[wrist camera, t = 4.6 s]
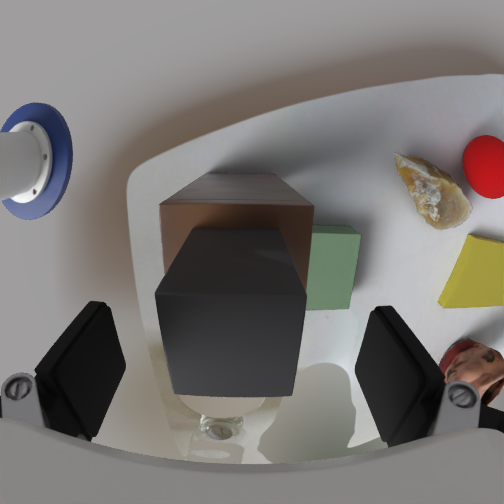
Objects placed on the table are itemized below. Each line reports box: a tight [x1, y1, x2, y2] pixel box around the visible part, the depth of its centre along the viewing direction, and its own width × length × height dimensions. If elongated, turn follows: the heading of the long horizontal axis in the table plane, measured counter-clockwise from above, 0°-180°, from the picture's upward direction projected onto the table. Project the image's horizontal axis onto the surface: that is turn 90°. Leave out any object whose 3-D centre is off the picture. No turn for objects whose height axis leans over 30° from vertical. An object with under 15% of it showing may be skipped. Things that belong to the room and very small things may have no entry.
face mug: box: [439, 339, 504, 406], centre depth 38 cm, size 20×12×14 cm, turn 93°
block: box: [155, 228, 307, 397], centre depth 12 cm, size 4×4×7 cm
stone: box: [395, 153, 472, 230], centre depth 30 cm, size 7×6×15 cm
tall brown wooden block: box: [159, 173, 314, 291], centre depth 24 cm, size 8×7×19 cm
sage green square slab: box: [306, 225, 361, 310], centre depth 34 cm, size 10×10×4 cm
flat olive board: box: [438, 234, 504, 308], centre depth 37 cm, size 12×2×24 cm
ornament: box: [463, 135, 504, 199], centre depth 27 cm, size 9×9×10 cm
